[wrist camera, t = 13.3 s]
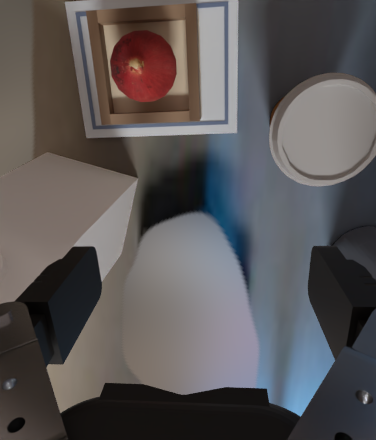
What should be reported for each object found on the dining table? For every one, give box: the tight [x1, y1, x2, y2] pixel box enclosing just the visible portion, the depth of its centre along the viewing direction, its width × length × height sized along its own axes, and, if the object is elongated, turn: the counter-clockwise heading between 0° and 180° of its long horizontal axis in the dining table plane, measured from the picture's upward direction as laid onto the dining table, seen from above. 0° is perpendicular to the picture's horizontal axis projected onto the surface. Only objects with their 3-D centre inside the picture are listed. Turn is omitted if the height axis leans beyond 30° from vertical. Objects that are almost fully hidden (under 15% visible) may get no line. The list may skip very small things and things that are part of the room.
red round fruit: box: [110, 30, 177, 102], centre depth 29 cm, size 6×6×8 cm
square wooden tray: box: [86, 3, 202, 125], centre depth 34 cm, size 10×10×6 cm
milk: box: [0, 152, 138, 304], centre depth 33 cm, size 12×12×26 cm
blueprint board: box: [65, 0, 238, 138], centre depth 37 cm, size 18×14×1 cm
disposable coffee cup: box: [269, 73, 376, 186], centre depth 33 cm, size 10×10×12 cm
